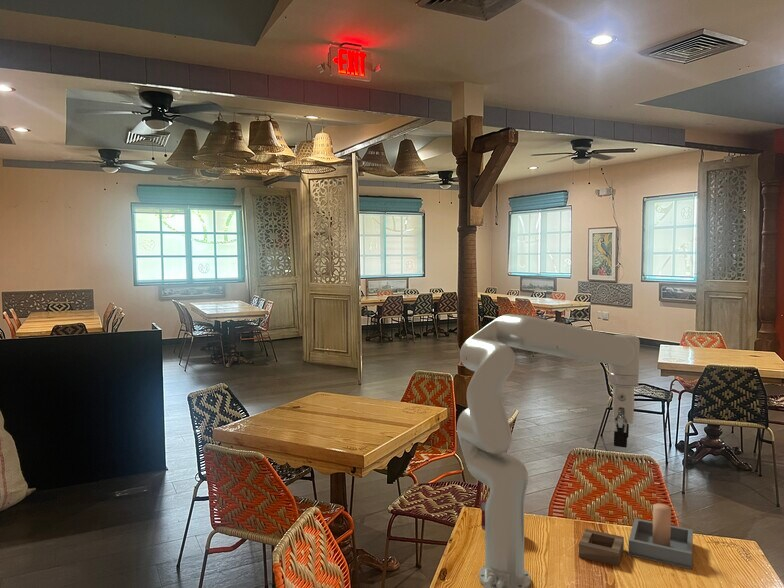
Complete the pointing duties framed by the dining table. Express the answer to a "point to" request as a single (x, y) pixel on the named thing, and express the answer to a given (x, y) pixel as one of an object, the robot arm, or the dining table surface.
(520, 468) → the robot arm
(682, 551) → the tray
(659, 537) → the dowel
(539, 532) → the dining table surface
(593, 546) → the collar block
